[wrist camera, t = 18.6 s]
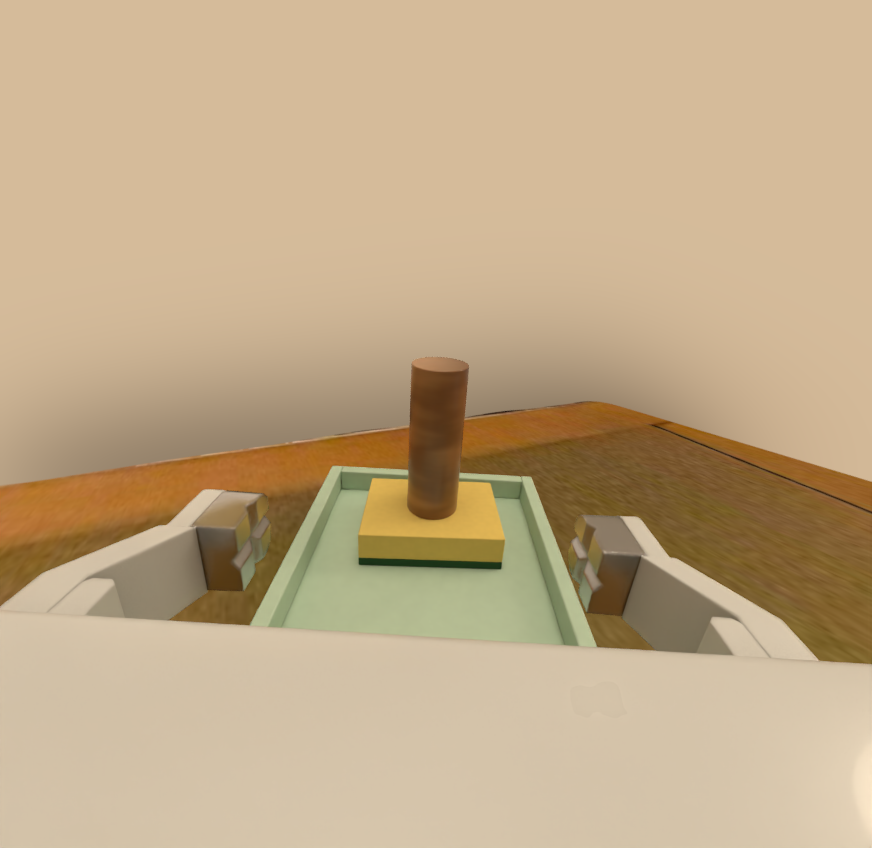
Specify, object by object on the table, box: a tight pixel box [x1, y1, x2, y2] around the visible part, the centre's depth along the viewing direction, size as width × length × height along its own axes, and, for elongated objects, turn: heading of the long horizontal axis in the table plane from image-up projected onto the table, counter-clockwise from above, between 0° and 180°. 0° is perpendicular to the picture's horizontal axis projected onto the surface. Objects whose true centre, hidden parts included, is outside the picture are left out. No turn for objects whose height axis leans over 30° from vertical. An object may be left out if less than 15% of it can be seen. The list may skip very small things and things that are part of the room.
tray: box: [250, 466, 597, 647], centre depth 21 cm, size 15×20×2 cm
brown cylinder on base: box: [358, 357, 505, 569], centre depth 24 cm, size 8×6×11 cm
